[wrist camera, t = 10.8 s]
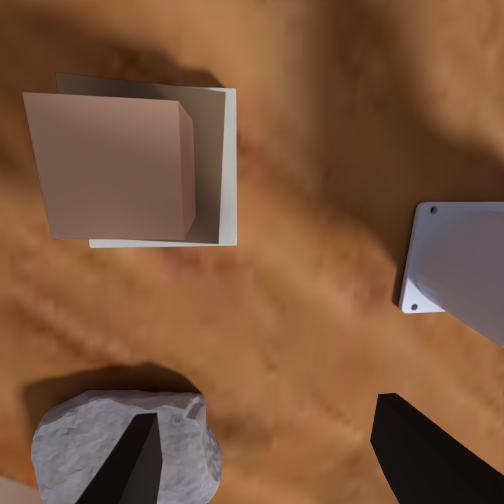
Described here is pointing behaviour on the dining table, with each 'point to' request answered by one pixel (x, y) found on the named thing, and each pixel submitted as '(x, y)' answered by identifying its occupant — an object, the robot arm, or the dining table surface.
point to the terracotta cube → (113, 166)
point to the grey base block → (227, 188)
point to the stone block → (108, 434)
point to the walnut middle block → (204, 134)
